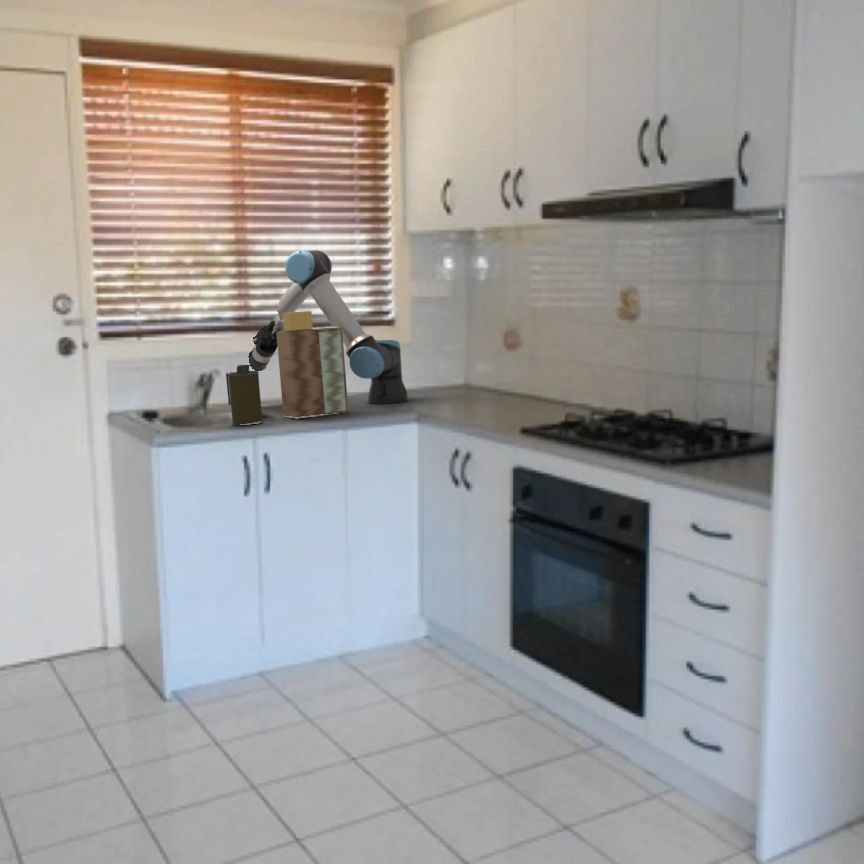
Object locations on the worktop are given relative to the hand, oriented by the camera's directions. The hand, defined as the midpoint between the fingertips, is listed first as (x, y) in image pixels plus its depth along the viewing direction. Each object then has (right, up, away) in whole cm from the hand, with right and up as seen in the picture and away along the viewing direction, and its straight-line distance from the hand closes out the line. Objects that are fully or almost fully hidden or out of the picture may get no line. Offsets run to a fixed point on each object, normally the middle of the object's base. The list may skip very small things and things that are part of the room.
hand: (283, 317), depth 358 cm
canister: (-11, -38, -12) cm, 41 cm away
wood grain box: (+12, -35, -1) cm, 37 cm away
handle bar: (+2, -5, -3) cm, 6 cm away
